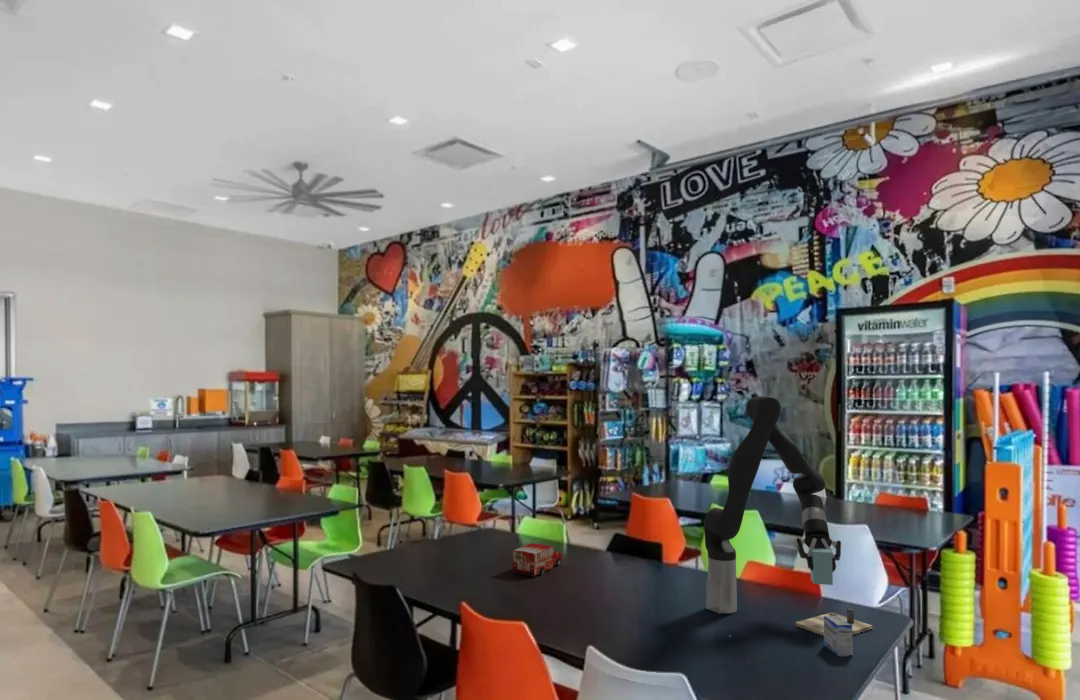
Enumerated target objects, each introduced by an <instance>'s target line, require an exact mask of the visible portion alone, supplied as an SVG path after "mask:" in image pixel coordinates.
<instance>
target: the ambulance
mask: <svg viewBox="0 0 1080 700" xmlns="http://www.w3.org/2000/svg"><path fill="white" fill-rule="evenodd" d="M562 554H563V553H562V552H559V551H555V549H554V547H553V545H552V546H551V545H548V544H547V545H546V544H543V543H542V544H541V543H534V542H533V543H529V544H527V545H524V546H521V547H518V548H516V549H514V550H512V571H511V573H512V574H517V575H523V576H528V577H536V576H538V574H543V573H545V574H546V572H547V571H549V570H551V569H553V568H554V566H555V565H559V564H562V557H563V555H562Z"/></svg>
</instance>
